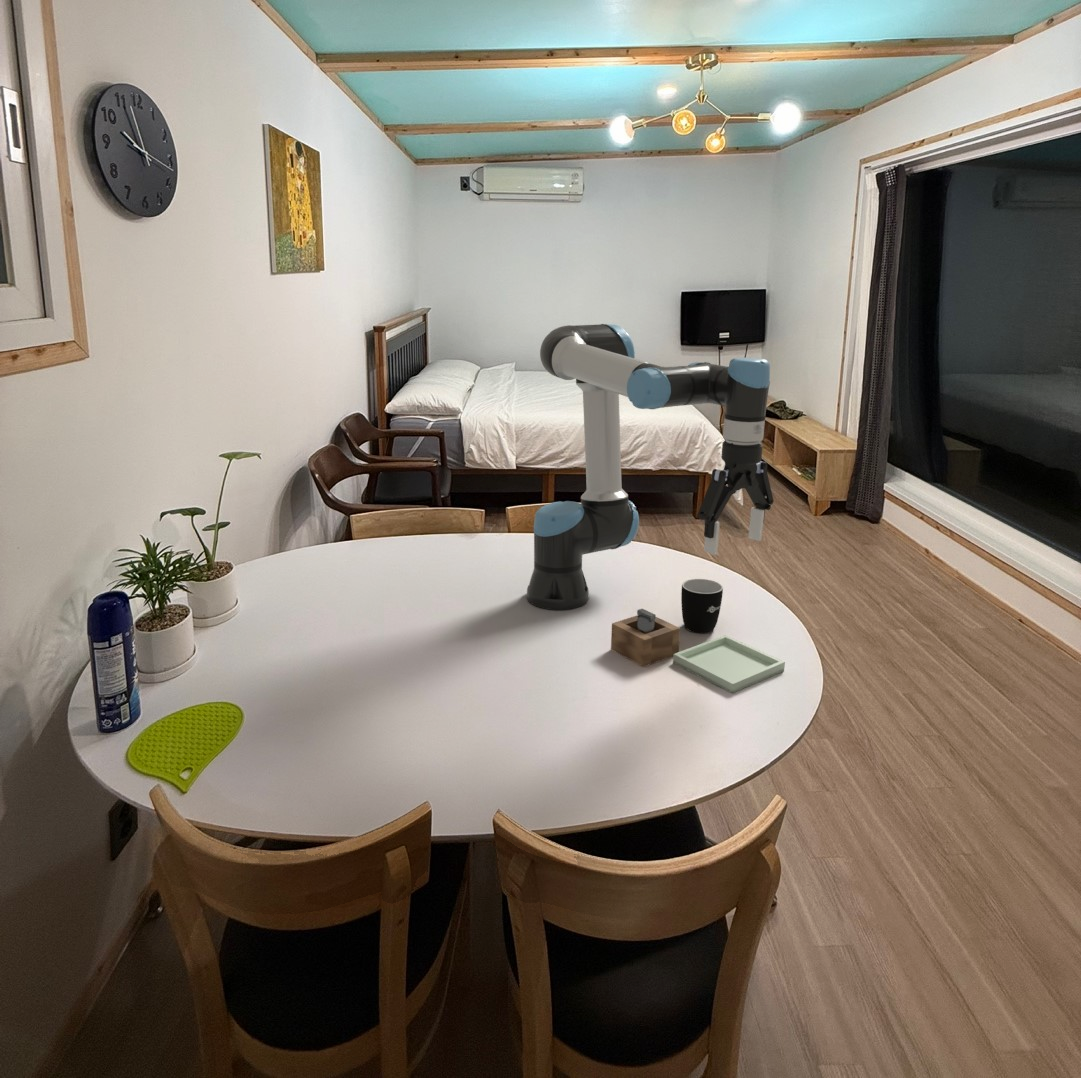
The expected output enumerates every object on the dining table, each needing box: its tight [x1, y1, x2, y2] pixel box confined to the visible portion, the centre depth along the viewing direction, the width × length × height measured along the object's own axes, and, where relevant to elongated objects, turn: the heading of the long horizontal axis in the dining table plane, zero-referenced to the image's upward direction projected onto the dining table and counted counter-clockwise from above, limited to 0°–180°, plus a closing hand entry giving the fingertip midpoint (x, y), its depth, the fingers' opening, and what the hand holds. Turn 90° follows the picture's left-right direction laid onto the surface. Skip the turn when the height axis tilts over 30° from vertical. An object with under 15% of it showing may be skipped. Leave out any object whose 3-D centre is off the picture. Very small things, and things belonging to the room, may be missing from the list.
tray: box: [672, 634, 786, 694], centre depth 162 cm, size 16×16×2 cm
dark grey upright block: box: [636, 608, 657, 634], centre depth 168 cm, size 4×4×9 cm
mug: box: [680, 578, 724, 634], centre depth 180 cm, size 12×9×10 cm
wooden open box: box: [610, 614, 681, 668], centre depth 168 cm, size 10×10×6 cm
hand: (733, 546), depth 160 cm, fingers open, 13 cm apart
